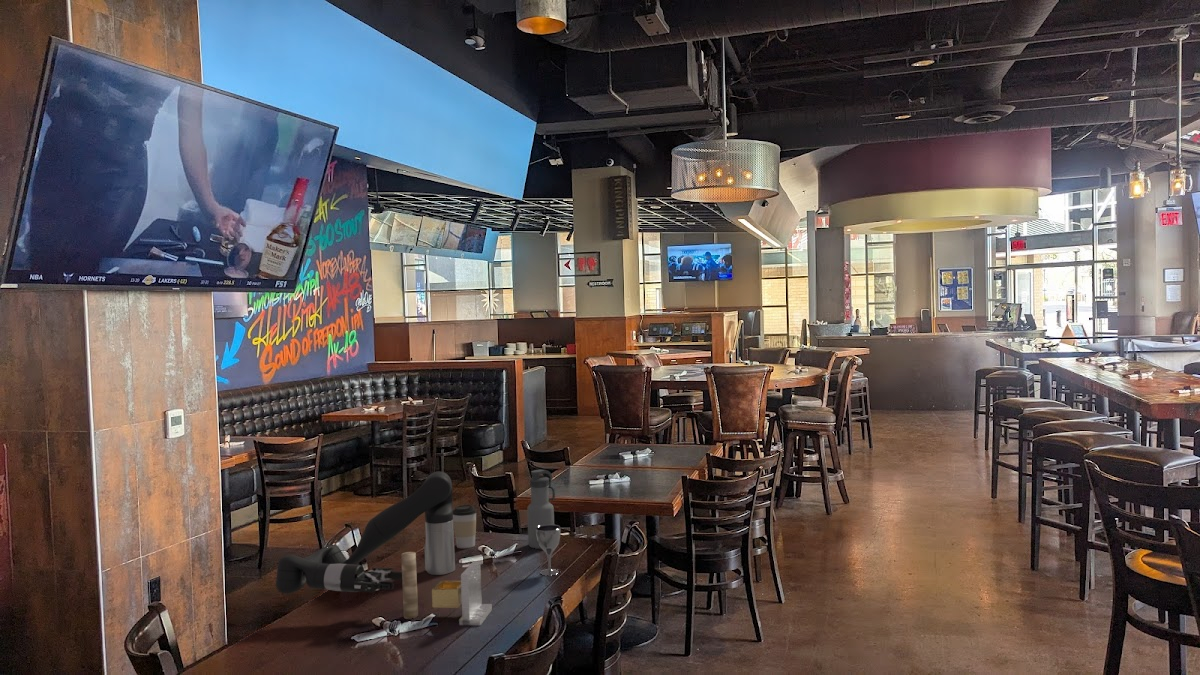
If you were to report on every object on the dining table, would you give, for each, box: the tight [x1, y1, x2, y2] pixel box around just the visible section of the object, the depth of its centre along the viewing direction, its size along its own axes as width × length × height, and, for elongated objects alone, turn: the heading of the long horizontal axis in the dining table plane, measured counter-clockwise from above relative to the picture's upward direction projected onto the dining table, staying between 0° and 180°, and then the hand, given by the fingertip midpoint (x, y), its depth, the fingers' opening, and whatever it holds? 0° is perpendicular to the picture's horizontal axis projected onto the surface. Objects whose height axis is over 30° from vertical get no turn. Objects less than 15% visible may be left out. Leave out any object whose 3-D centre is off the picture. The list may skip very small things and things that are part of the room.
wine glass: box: [536, 524, 561, 577], centre depth 255 cm, size 8×8×15 cm
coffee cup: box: [453, 504, 478, 549], centre depth 290 cm, size 9×9×15 cm
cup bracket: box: [431, 560, 493, 626], centre depth 219 cm, size 14×12×14 cm
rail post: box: [400, 551, 419, 620], centre depth 221 cm, size 4×4×18 cm
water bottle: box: [526, 469, 556, 550], centre depth 286 cm, size 10×10×28 cm
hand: (398, 581), depth 220 cm, fingers open, 8 cm apart
